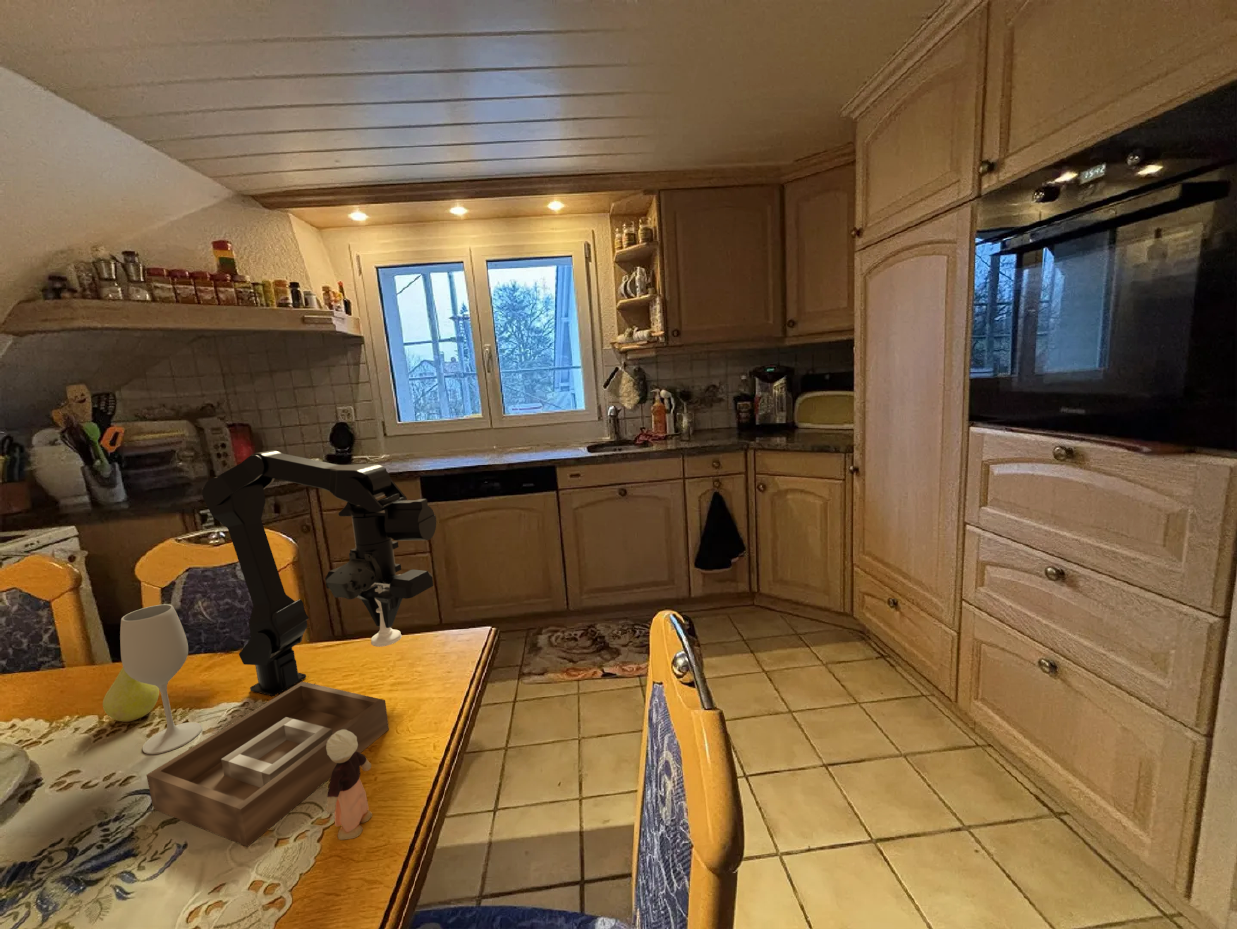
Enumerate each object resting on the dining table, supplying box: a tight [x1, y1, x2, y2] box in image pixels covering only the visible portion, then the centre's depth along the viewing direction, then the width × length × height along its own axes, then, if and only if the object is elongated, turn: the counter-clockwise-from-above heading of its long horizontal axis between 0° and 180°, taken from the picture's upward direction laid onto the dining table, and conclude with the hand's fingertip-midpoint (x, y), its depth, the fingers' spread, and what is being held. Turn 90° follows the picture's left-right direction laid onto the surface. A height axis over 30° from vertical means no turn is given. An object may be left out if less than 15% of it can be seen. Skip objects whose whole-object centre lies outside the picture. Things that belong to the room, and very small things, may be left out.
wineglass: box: [119, 603, 203, 755], centre depth 81 cm, size 8×8×21 cm
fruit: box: [102, 666, 160, 722], centre depth 88 cm, size 7×8×12 cm
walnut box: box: [146, 681, 390, 848], centre depth 75 cm, size 18×22×5 cm
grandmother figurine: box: [325, 729, 373, 841], centre depth 63 cm, size 8×4×13 cm, turn 5°
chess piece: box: [370, 585, 403, 648], centre depth 91 cm, size 5×5×10 cm
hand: (384, 626), depth 91 cm, fingers closed on chess piece
